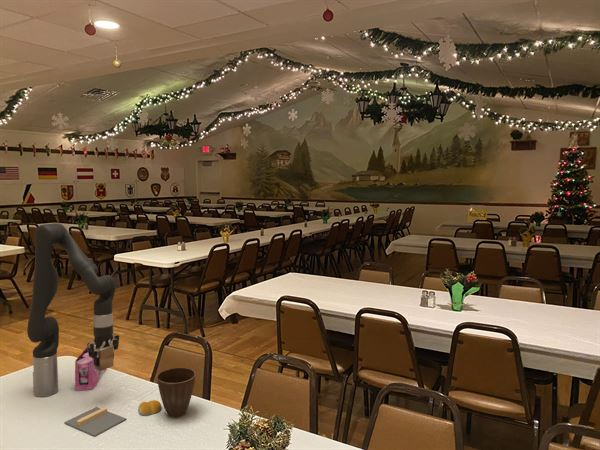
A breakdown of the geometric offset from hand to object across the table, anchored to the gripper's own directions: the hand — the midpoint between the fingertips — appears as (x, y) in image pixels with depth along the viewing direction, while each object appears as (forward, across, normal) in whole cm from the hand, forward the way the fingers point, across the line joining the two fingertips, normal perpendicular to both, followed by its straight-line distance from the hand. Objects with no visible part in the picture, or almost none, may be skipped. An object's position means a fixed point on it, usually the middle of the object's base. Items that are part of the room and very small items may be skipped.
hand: (104, 363), depth 190 cm
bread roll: (+17, -5, +21) cm, 28 cm away
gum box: (+18, -12, -25) cm, 33 cm away
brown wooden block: (+2, 0, 0) cm, 2 cm away
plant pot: (+17, -9, +32) cm, 38 cm away
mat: (+17, +12, +10) cm, 23 cm away
